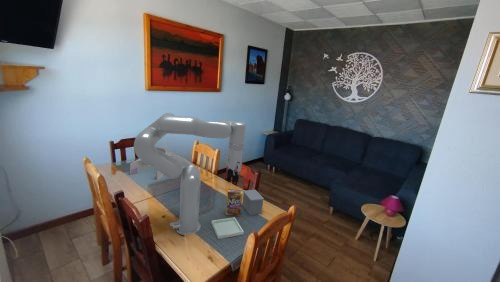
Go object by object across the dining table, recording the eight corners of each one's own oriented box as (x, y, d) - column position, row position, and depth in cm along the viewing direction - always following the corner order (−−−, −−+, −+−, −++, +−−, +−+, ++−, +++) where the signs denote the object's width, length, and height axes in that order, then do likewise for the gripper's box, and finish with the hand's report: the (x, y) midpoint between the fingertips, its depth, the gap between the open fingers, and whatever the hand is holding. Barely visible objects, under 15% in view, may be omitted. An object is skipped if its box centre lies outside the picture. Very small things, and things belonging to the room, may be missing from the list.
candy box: (225, 215, 135) (227, 191, 132) (226, 211, 139) (228, 188, 136) (240, 216, 135) (242, 193, 132) (240, 213, 139) (243, 189, 136)
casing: (157, 182, 169) (158, 156, 165) (130, 176, 173) (129, 151, 168) (176, 170, 196) (177, 147, 191) (151, 165, 199) (152, 143, 195)
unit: (249, 216, 137) (251, 200, 134) (241, 205, 148) (243, 190, 146) (262, 214, 140) (264, 198, 138) (253, 204, 151) (255, 189, 149)
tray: (218, 239, 113) (218, 236, 113) (211, 223, 126) (211, 220, 125) (243, 235, 119) (243, 231, 118) (234, 220, 131) (234, 217, 131)
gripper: (223, 141, 121) (220, 173, 125) (235, 151, 106) (231, 187, 110) (236, 141, 125) (232, 172, 129) (250, 151, 110) (245, 185, 114)
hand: (232, 179), depth 119 cm, fingers open, 6 cm apart
